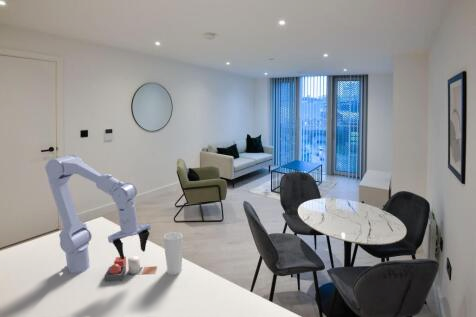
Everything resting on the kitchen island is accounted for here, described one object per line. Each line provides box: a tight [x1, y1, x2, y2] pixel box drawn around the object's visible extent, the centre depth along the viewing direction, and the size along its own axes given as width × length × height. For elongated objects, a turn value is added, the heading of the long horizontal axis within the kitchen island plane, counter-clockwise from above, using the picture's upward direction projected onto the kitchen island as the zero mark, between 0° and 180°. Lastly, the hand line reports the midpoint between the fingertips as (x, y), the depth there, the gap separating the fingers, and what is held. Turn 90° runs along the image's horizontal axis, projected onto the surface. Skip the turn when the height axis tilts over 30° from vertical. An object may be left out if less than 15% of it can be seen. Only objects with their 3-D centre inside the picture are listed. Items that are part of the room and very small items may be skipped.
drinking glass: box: [163, 231, 184, 276], centre depth 112 cm, size 7×7×15 cm
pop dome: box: [110, 263, 121, 274], centre depth 108 cm, size 4×4×3 cm
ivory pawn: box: [127, 255, 141, 274], centre depth 112 cm, size 4×4×5 cm
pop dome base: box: [104, 265, 127, 282], centre depth 109 cm, size 6×6×2 cm
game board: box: [125, 265, 158, 276], centre depth 112 cm, size 17×12×1 cm
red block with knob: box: [113, 256, 127, 267], centre depth 115 cm, size 3×3×4 cm
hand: (132, 254), depth 107 cm, fingers open, 7 cm apart
